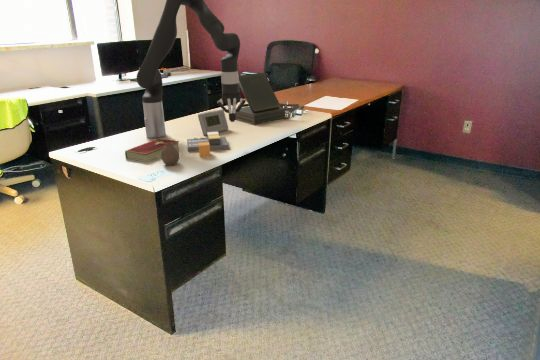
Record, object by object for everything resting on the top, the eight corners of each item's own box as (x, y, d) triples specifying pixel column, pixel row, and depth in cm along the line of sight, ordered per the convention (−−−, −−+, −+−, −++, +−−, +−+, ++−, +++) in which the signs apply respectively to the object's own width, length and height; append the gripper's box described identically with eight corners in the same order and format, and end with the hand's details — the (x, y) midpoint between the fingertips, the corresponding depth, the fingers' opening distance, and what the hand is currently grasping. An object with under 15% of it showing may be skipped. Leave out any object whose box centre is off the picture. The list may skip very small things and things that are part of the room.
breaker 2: (219, 141, 191) (219, 134, 190) (220, 144, 187) (220, 137, 185) (208, 141, 190) (208, 135, 189) (209, 144, 186) (208, 138, 185)
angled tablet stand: (254, 125, 228) (252, 79, 219) (233, 119, 242) (231, 75, 233) (285, 119, 241) (285, 74, 232) (263, 113, 255) (262, 72, 246)
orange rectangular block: (199, 157, 177) (198, 145, 175) (199, 153, 181) (198, 142, 179) (210, 156, 178) (209, 144, 176) (209, 153, 182) (208, 142, 180)
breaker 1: (218, 137, 197) (217, 131, 195) (219, 140, 192) (218, 134, 191) (207, 138, 196) (207, 132, 195) (208, 141, 191) (207, 134, 190)
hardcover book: (125, 159, 177) (124, 150, 175) (159, 146, 194) (158, 137, 193) (147, 163, 172) (146, 153, 170) (179, 149, 189) (178, 140, 188)
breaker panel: (187, 151, 184) (187, 146, 183) (187, 143, 197) (186, 137, 196) (228, 148, 187) (228, 143, 186) (225, 140, 200) (225, 135, 199)
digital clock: (203, 136, 208) (201, 115, 204) (195, 132, 215) (194, 112, 211) (231, 131, 216) (230, 111, 212) (224, 127, 223) (222, 108, 219)
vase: (181, 161, 172) (179, 140, 169) (178, 166, 166) (176, 145, 163) (164, 161, 172) (161, 141, 169) (160, 167, 166) (158, 146, 162)
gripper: (215, 84, 176) (218, 124, 182) (246, 82, 178) (248, 122, 184) (214, 81, 183) (217, 120, 189) (244, 80, 185) (245, 118, 191)
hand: (232, 121), depth 187 cm, fingers closed
